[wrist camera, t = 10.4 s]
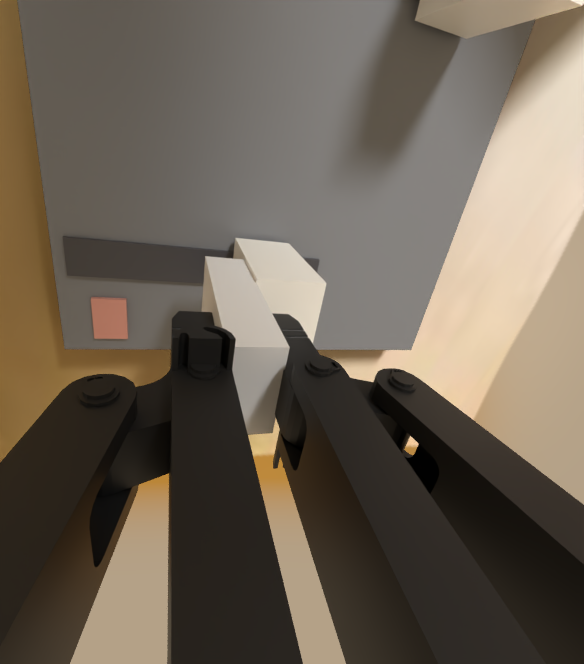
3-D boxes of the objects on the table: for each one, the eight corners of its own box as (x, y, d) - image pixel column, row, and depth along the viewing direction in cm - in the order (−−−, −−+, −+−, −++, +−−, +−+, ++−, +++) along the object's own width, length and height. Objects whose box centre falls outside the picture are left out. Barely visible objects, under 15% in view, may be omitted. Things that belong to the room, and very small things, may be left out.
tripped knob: (235, 237, 16) (256, 278, 12) (288, 243, 17) (326, 283, 13) (228, 299, 17) (246, 355, 13) (278, 301, 18) (310, 355, 14)
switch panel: (-16, -433, 9) (-65, -580, 7) (548, -110, 15) (600, -143, 13) (74, 328, 18) (63, 351, 16) (394, 334, 24) (412, 351, 23)
